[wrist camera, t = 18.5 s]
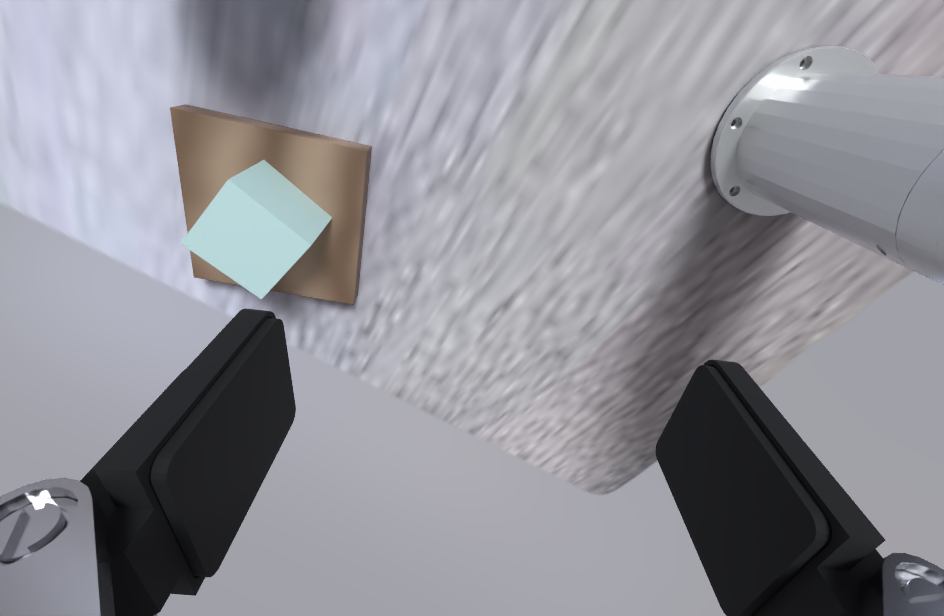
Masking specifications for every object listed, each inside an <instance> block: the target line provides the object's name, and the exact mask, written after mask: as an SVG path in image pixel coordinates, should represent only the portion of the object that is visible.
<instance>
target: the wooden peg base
mask: <svg viewBox="0 0 944 616" xmlns="http://www.w3.org/2000/svg"><path fill="white" fill-rule="evenodd" d="M170 110H171V118H172V125H173V132H174V139H175V146H176V153H177V160H178V167H179V174H180V182H181V189H182V196H183V203H184V210H185V217H186V224H187V231H188V232H189V231H190V230H191V228H192V227H193V226H194V224H195V223H196V222H197V220H198V219H199V218H200V216H201V215H202V214H203V212H204V211H205V210H206V208H207V207H208V206H209V204H210V203H211V202H212V200H213V199H214V198H215V196H216V195H217V194H218V192H219V191H220V190H221V188H222V187H223V186H224V184H225V183H226V182H227V180H228V179H230V178H232V177H233V176H235V175H237V174H239V173H241V172H242V171H244V170H246V169H248V168H250V167H252V166H253V165H255V164H257V163H259V162H261V161H262V160H265V161H266V162H267V163H269V164H270V165H271V166H272V167H273V168H275V169H276V170H277V171H278V172H279V173H280V174H282V175H283V176H284V177H285V178H286V179H287V180H289V181H290V182H291V183H292V184H293V185H295V186H296V187H297V188H298V189H299V190H300V191H302V192H303V193H304V194H305V195H306V196H308V197H309V198H310V199H311V200H312V201H313V202H315V203H316V204H317V205H318V206H319V207H320V208H322V209H323V210H324V211H325V212H326V213H328V214H329V215H330V216H331V217H332V219H331V220H330V221H329V223H328V224H327V225H326V227H325V228H324V229H323V231H322V232H321V233H320V235H319V236H318V237H317V238H316V240H315V241H314V242H313V244H312V245H311V246H310V247H309V248H308V249H307V251H306V252H305V253H304V254H303V255H302V256H301V257H300V258H299V259H298V260H297V261H296V263H295V264H294V265H293V266H292V267H291V268H290V269H289V270H288V271H287V272H286V273H285V274H284V276H283V277H282V278H281V279H280V280H279V281H278V282H277V283H276V284H275V285H274V286H273V288H272V289H271V291H277V292H283V293H289V294H295V295H300V296H306V297H312V298H318V299H324V300H330V301H335V302H341V303H347V304H353V305H354V302H355V300H356V297H357V295H358V287H359V277H360V266H361V255H362V245H363V234H364V223H365V213H366V202H367V191H368V180H369V170H370V159H371V148H372V146H367V145H363V144H358V143H354V142H350V141H345V140H341V139H336V138H332V137H327V136H323V135H319V134H314V133H310V132H305V131H301V130H296V129H292V128H287V127H283V126H279V125H274V124H270V123H265V122H261V121H256V120H252V119H247V118H243V117H239V116H234V115H230V114H225V113H221V112H216V111H212V110H208V109H203V108H199V107H194V106H190V105H181V106H176V107H171V108H170ZM190 253H191V260H192V267H193V274H194V277H196V278H201V279H207V280H213V281H219V282H225V283H231V284H236V285H240V284H238V283H237V282H235V281H234V280H233V279H231V278H230V277H228V276H227V275H225V274H224V273H222V272H221V271H220V270H218V269H217V268H215V267H214V266H212V265H211V264H210V263H208V262H207V261H205V260H204V259H202V258H201V257H199V256H198V255H197V254H195V253H194V252H192V251H191V250H190Z"/></svg>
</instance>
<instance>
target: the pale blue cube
mask: <svg viewBox="0 0 944 616" xmlns="http://www.w3.org/2000/svg"><path fill="white" fill-rule="evenodd" d="M331 219H332V217H331V216H330V215H329V214H328V213H326V212H325V211H324V210H323V209H322V208H320V207H319V206H318V205H317V204H316V203H315V202H313V201H312V200H311V199H310V198H309V197H308V196H306V195H305V194H304V193H303V192H302V191H300V190H299V189H298V188H297V187H296V186H295V185H293V184H292V183H291V182H290V181H289V180H287V179H286V178H285V177H284V176H283V175H282V174H280V173H279V172H278V171H277V170H276V169H275V168H273V167H272V166H271V165H270V164H269V163H267V162H266V161H265V160H262V161H261V162H259V163H257V164H255V165H253V166H252V167H250V168H248V169H246V170H244V171H242V172H241V173H239V174H237V175H235V176H233V177H232V178H230V179H228V180H227V182H226V183H225V184H224V186H223V187H222V188H221V190H220V191H219V192H218V194H217V195H216V196H215V198H214V199H213V200H212V202H211V203H210V204H209V206H208V207H207V208H206V210H205V211H204V212H203V214H202V215H201V216H200V218H199V219H198V220H197V222H196V223H195V224H194V226H193V227H192V228H191V230H190V231H189V232H188V234H187V235H186V236H185V238H184V239H183V240H182V242H181V244H182V245H184V246H185V247H186V248H188V249H189V250H191V251H192V252H194V253H195V254H197V255H198V256H199V257H201V258H202V259H204V260H205V261H207V262H208V263H210V264H211V265H212V266H214V267H215V268H217V269H218V270H220V271H221V272H222V273H224V274H225V275H227V276H228V277H230V278H231V279H233V280H234V281H235V282H237V283H238V284H240V285H241V286H243V287H244V288H246V289H247V290H248V291H250V292H251V293H253V294H254V295H256V296H257V297H258V298H260V299H262V298H263V297H264V296H265V295H266V294H267V293H268V292H269V291H270V290H271V289H272V288H273V286H274V285H275V284H276V283H277V282H278V281H279V280H280V279H281V278H282V277H283V276H284V274H285V273H286V272H287V271H288V270H289V269H290V268H291V267H292V266H293V265H294V264H295V263H296V261H297V260H298V259H299V258H300V257H301V256H302V255H303V254H304V253H305V252H306V251H307V249H308V248H309V247H310V246H311V245H312V244H313V242H314V241H315V240H316V238H317V237H318V236H319V235H320V233H321V232H322V231H323V229H324V228H325V227H326V225H327V224H328V223H329V221H330V220H331Z"/></svg>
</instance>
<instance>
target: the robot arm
mask: <svg viewBox="0 0 944 616" xmlns="http://www.w3.org/2000/svg"><path fill="white" fill-rule="evenodd" d="M732 121H733V123H732V124H731V122H732ZM711 173H712V177H713V182H714V184H715V186H716V188H717V190H718V192H719V193H720V195H721V196H722V197H723V198H724V199H725V200H726V201H727V202H728V203H730V204H731V205H733V206H734V207H736V208H738V209H740V210H742V211H744V212H746V213H749V214H753V215H758V216H776V215H782V214H787V213H790V212H792V213H794V214H796V215H798V216H800V217H802V218H804V219H807V220H809V221H811V222H813V223H815V224H817V225H819V226H821V227H823V228H825V229H827V230H829V231H831V232H833V233H836V234H838V235H840V236H842V237H844V238H846V239H848V240H850V241H852V242H854V243H856V244H858V245H860V246H863V247H865V248H867V249H869V250H871V251H873V252H875V253H877V254H879V255H881V256H883V257H885V258H887V259H889V260H892V261H894V262H896V263H898V264H900V265H902V266H904V267H906V268H908V269H910V270H912V271H915V272H917V273H919V274H921V275H923V276H925V277H927V278H929V279H932V280H934V281H936V282H938V283H941V284H943V285H944V77H931V76H912V75H893V74H880V73H879V71H878V69H877V67H876V65H875V64H874V63H873V62H872V61H871V60H870V59H869V58H868V57H867V56H866V55H864V54H862V53H860V52H858V51H856V50H854V49H852V48H846V47H840V46H819V47H813V48H808V49H802V50H800V51H797V52H795V53H792V54H789V55H787V56H785V57H783V58H781V59H779V60H778V61H776V62H774V63H772V64H771V65H769V66H768V67H766V68H765V69H764V70H763V71H761V72H760V73H759V74H757V75H756V76H755V77H754V78H753V79H752V80H751V81H750V82H749V83H748V84H747V85H746V86H745V87H744V88H743V89H742V90H741V91H740V92H739V93H738V95H737V96H736V97H735V99H734V100H733V101H732V103H731V104H730V106H729V107H728V109H727V110H726V112H725V114H724V116H723V118H722V120H721V121H720V123H719V126H718V129H717V131H716V134H715V137H714V140H713V145H712V151H711ZM295 411H296V407H295V400H294V393H293V386H292V380H291V373H290V366H289V359H288V352H287V345H286V338H285V332H284V325H283V322H282V320H280V319H276V317H275V315H274V313H273V312H271V311H262V310H253V309H242V310H241V311H240V312H239V313H238V314H237V315H236V316H235V317H234V318H233V319H232V320H231V321H230V322H229V323H228V324H227V325H226V327H225V328H224V329H223V330H222V331H221V332H220V333H219V334H218V335H217V336H216V337H215V339H213V341H212V342H211V343H210V344H209V345H208V346H207V347H206V348H205V349H204V350H203V351H202V352H201V353H200V355H199V356H198V357H197V358H196V359H195V360H194V361H193V362H192V363H191V364H190V365H189V366H188V367H187V368H186V369H185V370H184V371H183V372H182V373H181V374H180V375H179V376H178V377H177V378H176V379H175V380H174V381H173V382H172V383H171V384H170V385H169V387H168V388H167V389H166V390H165V391H164V392H163V393H162V394H161V395H160V396H159V397H158V398H157V400H156V401H155V402H154V403H153V404H152V405H151V406H150V407H149V408H148V409H147V410H146V411H145V412H144V414H142V415H141V417H140V418H139V419H138V420H137V421H136V422H135V423H134V424H133V425H132V426H131V427H130V428H129V429H128V430H127V432H126V433H125V434H124V435H123V436H122V437H121V438H120V439H119V440H118V441H117V442H116V443H115V445H113V447H112V448H111V449H110V450H109V451H108V452H107V453H106V454H105V455H104V456H103V457H102V458H101V460H99V462H98V463H97V464H96V465H95V466H94V467H93V468H92V469H91V470H90V471H89V472H88V473H87V474H86V475H85V477H84V478H83V479H82V480H81V481H78V480H73V479H68V478H58V479H46V480H42V481H39V482H35V483H32V484H28V485H25V486H22V487H20V488H18V489H16V490H14V491H11V492H9V493H7V494H4V495H2V496H1V497H0V616H157V613H159V612H160V611H161V609H162V607H163V606H164V604H165V602H166V600H167V599H168V597H169V595H170V594H183V595H196V594H197V592H198V590H199V588H200V586H201V584H202V582H203V580H204V579H205V577H212V576H213V575H214V574H215V573H216V571H217V570H218V569H219V567H220V565H221V563H222V561H223V559H224V557H225V555H226V553H227V551H228V549H229V547H230V545H231V543H232V541H233V539H234V538H235V536H236V534H237V532H238V530H239V528H240V526H241V524H242V522H243V520H244V518H245V516H246V514H247V512H248V510H249V507H250V506H251V504H252V502H253V500H254V498H255V496H256V494H257V492H258V490H259V488H260V486H261V484H262V482H263V480H264V478H265V477H266V474H267V472H268V471H269V469H270V467H271V465H272V463H273V461H274V459H275V457H276V455H277V453H278V451H279V449H280V447H281V445H282V443H283V441H284V439H285V437H286V435H287V433H288V431H289V429H290V427H291V425H292V423H293V421H294V417H295ZM656 457H657V460H658V462H659V464H660V467H661V469H662V472H663V474H664V476H665V478H666V481H667V483H668V485H669V488H670V490H671V492H672V495H673V497H674V500H675V502H676V504H677V507H678V509H679V511H680V513H681V516H682V518H683V520H684V523H685V525H686V527H687V530H688V532H689V534H690V537H691V539H692V541H693V544H694V546H695V548H696V551H697V553H698V555H699V558H700V560H701V562H702V565H703V567H704V569H705V572H706V574H707V576H708V578H709V581H710V583H711V586H712V588H713V590H714V593H715V595H716V597H717V599H718V602H719V604H720V606H721V608H722V610H723V612H724V613H725V614H726V615H727V616H944V570H943V569H941V568H940V567H938V566H937V565H935V564H933V563H930V562H928V561H926V560H924V559H922V558H920V557H917V556H913V555H909V554H906V553H892V554H890V555H888V556H887V557H885V558H884V559H883V558H882V557H881V555H880V554H879V553H878V552H877V550H876V548H877V547H878V546H879V545H880V544H882V543H883V542H884V541H885V539H884V538H883V537H882V535H881V534H880V533H879V532H878V531H877V529H876V528H875V527H874V526H873V524H872V523H871V522H870V521H869V520H868V519H867V517H866V516H865V515H864V514H863V512H862V511H861V510H860V509H859V508H858V506H857V505H856V504H855V503H854V501H852V499H851V498H850V497H849V495H848V494H847V493H846V492H845V491H844V489H843V488H842V487H841V486H840V485H839V483H838V482H837V481H836V480H835V478H834V477H833V476H832V475H831V474H830V472H829V471H828V470H827V469H826V468H825V466H824V465H823V464H822V463H821V461H820V460H819V459H818V458H817V457H816V456H815V454H814V453H813V452H812V451H811V449H810V448H809V447H808V446H807V445H806V443H805V442H804V441H803V440H802V439H801V437H800V436H799V435H798V434H797V432H796V431H795V430H794V429H793V428H792V427H791V425H790V424H789V423H788V422H787V420H786V419H785V418H784V417H783V415H781V413H780V412H779V411H778V410H777V408H776V407H775V406H774V405H773V403H772V402H771V401H770V400H769V399H768V397H767V396H766V395H765V394H764V393H763V391H762V390H761V389H760V388H759V386H758V385H757V384H756V383H755V382H754V380H753V379H752V378H751V377H750V376H749V374H748V373H747V372H746V371H745V369H744V368H743V367H742V366H741V365H740V364H738V363H735V362H727V361H718V360H708V361H707V362H705V364H704V365H701V366H699V367H698V368H697V369H696V370H695V372H694V374H693V376H692V378H691V380H690V382H689V384H688V385H687V387H686V389H685V391H684V393H683V395H682V397H681V399H680V401H679V402H678V404H677V406H676V408H675V410H674V412H673V414H672V416H671V418H670V419H669V421H668V423H667V425H666V427H665V429H664V431H663V433H662V435H661V437H660V438H659V440H658V442H657V445H656Z"/></svg>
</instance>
